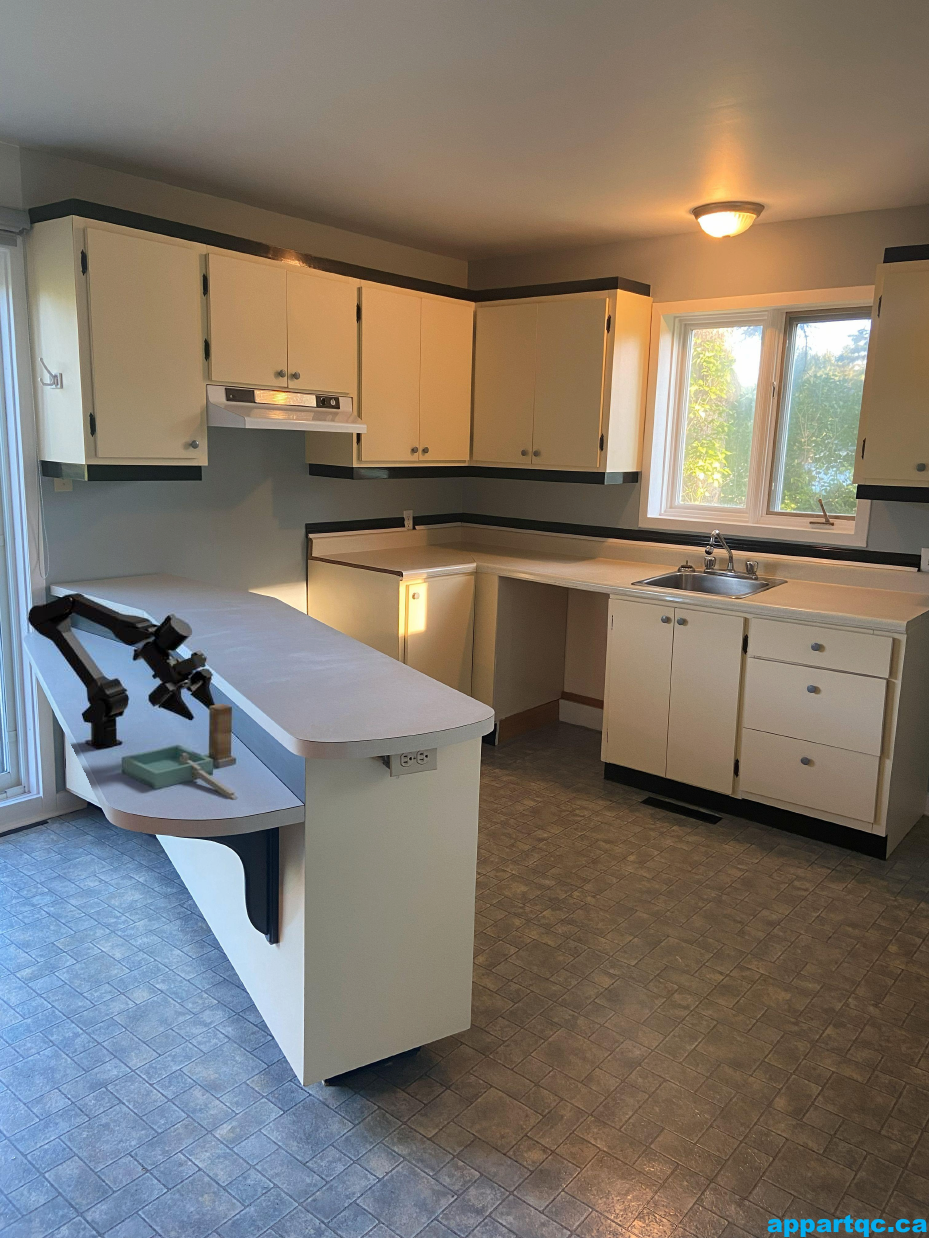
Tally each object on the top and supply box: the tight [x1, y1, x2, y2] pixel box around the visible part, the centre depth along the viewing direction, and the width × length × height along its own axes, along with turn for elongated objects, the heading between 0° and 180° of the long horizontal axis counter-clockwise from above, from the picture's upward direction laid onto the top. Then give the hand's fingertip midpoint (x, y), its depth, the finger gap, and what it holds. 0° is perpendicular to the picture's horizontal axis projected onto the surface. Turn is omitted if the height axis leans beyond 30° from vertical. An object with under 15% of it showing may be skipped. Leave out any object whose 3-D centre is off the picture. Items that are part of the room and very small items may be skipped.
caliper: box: [179, 753, 239, 801], centre depth 191 cm, size 20×1×6 cm, turn 50°
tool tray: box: [121, 744, 214, 790], centre depth 197 cm, size 14×14×4 cm
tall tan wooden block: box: [203, 703, 237, 769], centre depth 206 cm, size 6×4×14 cm
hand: (203, 714), depth 206 cm, fingers open, 9 cm apart
